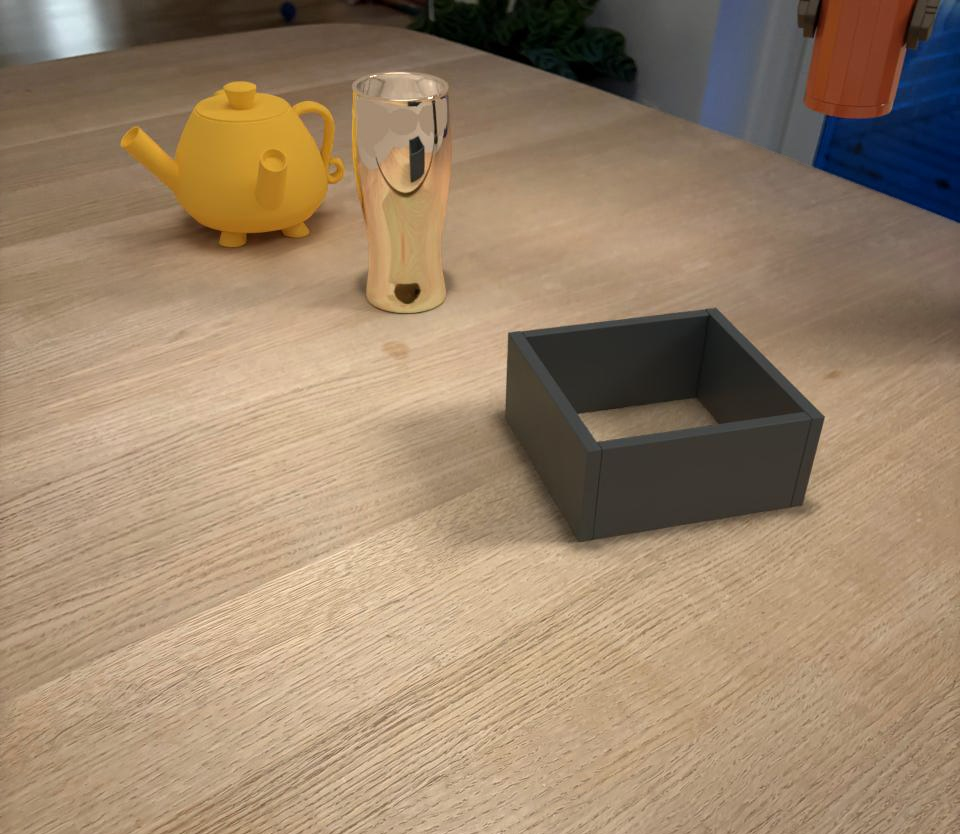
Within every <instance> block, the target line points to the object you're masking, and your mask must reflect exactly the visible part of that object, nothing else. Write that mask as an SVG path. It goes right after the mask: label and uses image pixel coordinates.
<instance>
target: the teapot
mask: <svg viewBox="0 0 960 834" xmlns="http://www.w3.org/2000/svg"><path fill="white" fill-rule="evenodd" d="M309 113H310V114H311V113H315V114H317V115H320V116H321V117H322V120H323V139H322V144H321V149H320V150H319V148H318V145H317V143H316V141H315V139H314V137H313V136H312V134H311V132H310V131H309V130H308V128H307V126H306V125H305V124H304V122H303V120H302V119H301V118H300V116H302V115H305V114H309ZM334 119H335V118H334V116H333V114H332V113H331V111H330V110H329V109H328V108H327V107H326V106H325V105H323V104H321V103H319V102H317V101H313V100H304V101H301V102H298V103H296V104H294V105H293V106H291V104H290V103H289V102H288V101H286V100H285V99H283V98H282V97H279V96H278V95H273V94H269V93H261V92H257V85H256V84H255V83H253V82H250V81H243V80H242V81H241V80H240V81H232V82H229V83H226V84H224V85H223V89H219V90H216V91H215V92H214V93H213V96H209V97H207V98H205V99H202V100H200V101H199V102H198V103H197V104H196V105H195V106H194V108H193V110H192V111H191V112H190V115H189V117H188V119H187V121H186V123H185V126H184V128H183V131H182V133H181V134H180V138H179V141H178V144H177V146H176V150H175V155H174V159H172V157H171V156H170V155H168V153H167V152H165V151H164V150H163V149H162V148H161V147H160V146H159V145H158V144H157V143H156V142H155V141H154V140H153V139H152V138H151V137H150V136H149V135H148V134H147V133H146V132H145V131H144V130H143V129H142V128H141V127H140V126H138V125H135V126H133V127H131V128H129V129H128V130H127V132H125V134H124V135H123V136H122V138H121V140H120V147H121V148H122V149H123V150H124V151H125V152H127V153H128V154H129V155H130V156H131V157H133V158H134V159H135V160H136V161H137V162H138V163H140V165H142V166H143V167H144V168H145V169H146V170H147V171H149V172H150V173H151V174H152V175H153V176H154V177H156V179H158V180H159V181H160V182H161V183H163V185H165V186H166V187H167V188H168V189H169V190H170V191H172V192H173V195H174V197H175V199H176V201H177V203H178V205H180V206H181V208H182V209H183V210H184V211H186V213H187V214H188V215H189V216H191V217H192V219H194V220H195V221H196V222H197V223H199V224H200V225H203V226H204V227H207V228H209V229H213V230H216V231H220V232H221V233H220V237H219V241H218V244H219V245H220V246H221V247H225V248H238V247H241V246H243V245H245V244H246V243H247V234H256V233H266V232H274V231H280V230H281V232H282V234H283V235H284V237H288V238H303V237H306V236H308V235H309V234H310V229H309V228H308V227H307V225H306V224H305V221H307V220H308V219H310V218H311V217H312V216H313V214H314V213H315V212H316V211H317V210H318V208H320V205H321V204H322V203H323V202H324V200H325V198H326V196H327V193H328V189H329V185H336V184H337V183H339V182H340V181H341V180H343V178H344V176H345V165H344V163H343V161H342V160H341V159H340V158H339V157H336V156H332V151H333V146H334V141H335V135H336V126H335V125H336V124H335V121H334ZM330 166H336V169H335V170H334V171H333V172H331V173H330Z"/></svg>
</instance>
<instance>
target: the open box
mask: <svg viewBox="0 0 960 834" xmlns="http://www.w3.org/2000/svg"><path fill="white" fill-rule="evenodd" d="M506 353H507V355H506V356H507V357H506V378H505V379H506V381H505V383H506V384H505V405H504V406H505V409H504V410H505V411H504V418H505V420H506V421H507V424H508V425H509V427H510V428H511V430H512V432H513V433H514V435H515V437H516V439H517V440H518V442H519V444H520V445H521V447H522V449H523V451H524V452H525V454H526V455H527V457H528V460H529V461H530V462H531V464H532V466H533V467H534V469H535V470H536V473H537V474H538V476H539V477H540V479H541V481H542V482H543V484H544V486H545V488H546V490H547V491H548V493H549V494H550V496H551V498H552V500H553V501H554V503H555V504H556V507H557V509H559V511H560V513H561V515H562V517H563V519H564V520H565V522H566V523H567V525H568V526H569V528H570V531H572V533H573V535H574V537H575V538H576V540H577V542H578V543H583V542H584V543H585V542H589V541H595V540H596V541H597V540H601V539H607V538H614V537H620V536H625V535H631V534H639V533H644V532H650V531H655V530H657V531H658V530H662V529H668V528H674V527H680V526H681V527H682V526H686V525H692V524H699V523H704V522H711V521H717V520H723V519H728V518H734V517H735V518H736V517H742V516H746V515H747V516H748V515H754V514H760V513H766V512H772V511H777V510H783V509H789V508H795V507H801V506H803V505H804V502H805V497H806V493H807V491H808V485H809V482H810V477H811V473H812V470H813V466H814V462H815V458H816V453H817V450H818V446H819V442H820V439H821V435H822V430H823V426H824V422H825V418H826V417H825V415H824V414H823V413H822V412H821V411H820V410H819V409H818V408H817V407H816V406H815V405H814V404H813V403H812V402H811V401H810V400H809V399H808V398H807V396H805V395H804V394H803V393H802V392H801V391H800V390H799V389H798V388H797V387H796V386H795V385H794V384H793V383H792V382H791V381H790V380H789V379H788V378H787V377H786V376H785V375H784V374H783V373H782V372H781V371H780V370H779V368H777V367H776V366H775V365H774V364H773V363H772V362H771V361H770V360H769V359H768V358H767V357H766V356H765V355H764V354H763V353H762V352H761V351H760V350H759V349H758V348H757V347H756V346H755V345H754V343H752V342H751V341H750V340H749V339H748V338H747V337H746V336H745V335H744V334H743V333H742V332H741V331H740V330H739V328H738V327H736V326H735V325H734V324H733V323H732V322H731V321H730V320H729V319H728V318H727V317H726V316H725V315H724V314H723V312H721V311H720V310H719V309H718V308H717V307H711V308H705V309H703V308H702V309H696V310H687V311H679V312H670V313H669V312H668V313H661V314H655V315H645V316H637V317H636V316H635V317H629V318H628V317H627V318H620V319H612V320H604V321H603V320H602V321H595V322H594V321H593V322H586V323H578V324H570V325H569V324H568V325H562V326H554V327H545V328H536V329H535V328H534V329H528V330H516V331H508V333H507V352H506ZM687 399H688V400H689V399H697V400H698V401H699V403H700V404H701V405H702V406H703V407H704V409H706V411H707V412H708V413H709V414H710V416H712V417H713V419H714V420H715V421H716V422H717V424H713V425H712V424H711V425H704V426H697V427H691V428H683V429H676V430H669V431H662V432H655V433H648V434H642V435H635V436H627V437H622V438H615V439H614V438H613V439H608V440H607V439H606V440H600V441H599V440H598V441H597V440H596V438H595V437H594V436H593V435H592V433H591V432H590V430H589V429H588V427H587V426H586V425H585V423H584V421H583V420H582V418H581V417H580V415H579V414H587V413H594V412H599V411H600V412H602V411H609V410H615V409H623V408H630V407H638V406H646V405H652V404H659V403H660V404H661V403H667V402H674V401H680V400H687Z"/></svg>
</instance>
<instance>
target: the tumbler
mask: <svg viewBox="0 0 960 834" xmlns="http://www.w3.org/2000/svg"><path fill="white" fill-rule="evenodd" d="M916 3H917V0H822V3H821V8H820V14H819V19H818V24H817V28H816V32H815V35H814V41H813V46H812V51H811V56H810V63H809V68H808V74H807V78H806V84H805V89H804V95H803V100H802V101H803V104H804V106H805V107H806V108H808V109H809V110H811V111H814V112H816V113H819V114H822V115H825V116H830V117H836V118H843V119H872V118H873V119H875V118H879V117H882V116H886V115H888V114H890V113H891V111H892V110H893V105H894V101H895V99H896V95H897V91H898V87H899V82H900V78H901V74H902V69H903V65H904V62H905V58H906V54H907V53H906V52H907V49H906V43H907V37H908V32H909V28H910V24H911V21H912V17H913V13H914V10H915V6H916Z"/></svg>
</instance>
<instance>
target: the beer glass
mask: <svg viewBox="0 0 960 834" xmlns="http://www.w3.org/2000/svg"><path fill="white" fill-rule="evenodd" d="M449 87H450V85H449V83H448V81H445V80H444V79H443V78H442V77H438V76H436V75H433V74H430V73H429V74H428V73H424V72H416V71H384V72H377V73H371V74H368V75H364V76H362V77H358V79H355V80H354V81H353V83H352V84H351V91H352V93H351V95H352V96H351V97H352V99H351V152H352V153H351V154H352V164H353V172H354V178H355V184H356V189H357V194H358V199H359V205H360V208H361V212H362V217H363V221H364V227H365V230H366V236H367V240H368V241H367V243H368V251H369V253H368V254H369V261H368V263H369V264H368V273H367V280H366V289H365V296H366V299H367V301H368V303H369V304H371V305H372V306H373V307H375V308H377V309H380V310H381V311H385V312H389V313H396V314H416V313H422V312H426V311H427V312H428V311H430V310H432V309H435V308H437V307H438V306H440V305H441V304H442V303H443V302H444V301H445V299H446V297H447V296H446V295H447V290H446V283H445V277H444V273H443V267H442V257H441V255H442V254H441V248H442V247H441V245H442V234H443V228H444V221H445V215H446V209H447V203H448V198H449V191H450V184H451V177H452V176H451V175H452V162H453V161H452V157H453V155H452V154H453V139H452V120H451V108H450V94H449V93H450V92H449V89H450V88H449Z"/></svg>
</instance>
